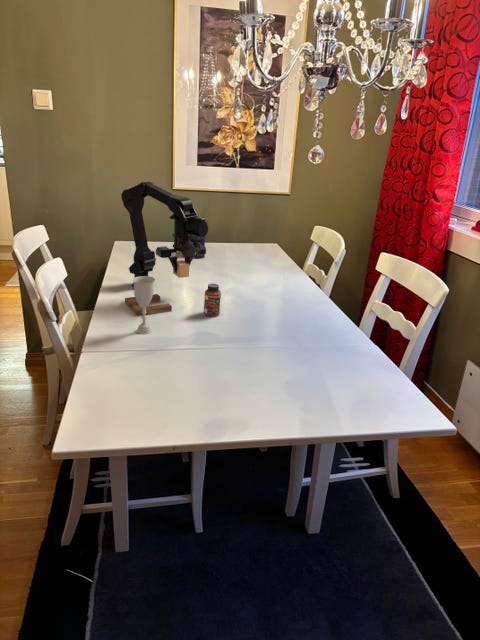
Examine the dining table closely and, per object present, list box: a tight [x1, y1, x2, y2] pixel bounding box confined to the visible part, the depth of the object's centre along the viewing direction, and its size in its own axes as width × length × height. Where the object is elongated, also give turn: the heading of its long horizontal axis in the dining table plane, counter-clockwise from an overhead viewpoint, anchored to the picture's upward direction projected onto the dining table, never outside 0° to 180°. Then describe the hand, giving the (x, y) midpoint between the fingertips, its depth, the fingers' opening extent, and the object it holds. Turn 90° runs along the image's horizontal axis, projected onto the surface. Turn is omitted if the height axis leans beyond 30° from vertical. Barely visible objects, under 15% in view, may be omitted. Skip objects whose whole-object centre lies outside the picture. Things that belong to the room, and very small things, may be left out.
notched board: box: [124, 293, 173, 317], centre depth 182 cm, size 14×13×2 cm
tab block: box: [172, 259, 190, 279], centre depth 188 cm, size 6×4×5 cm, turn 31°
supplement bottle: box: [203, 282, 222, 318], centre depth 178 cm, size 6×6×11 cm
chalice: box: [132, 275, 156, 335], centre depth 159 cm, size 7×7×18 cm
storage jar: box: [189, 234, 207, 260], centre depth 249 cm, size 10×10×15 cm
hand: (180, 272), depth 189 cm, fingers closed on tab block, 4 cm apart
